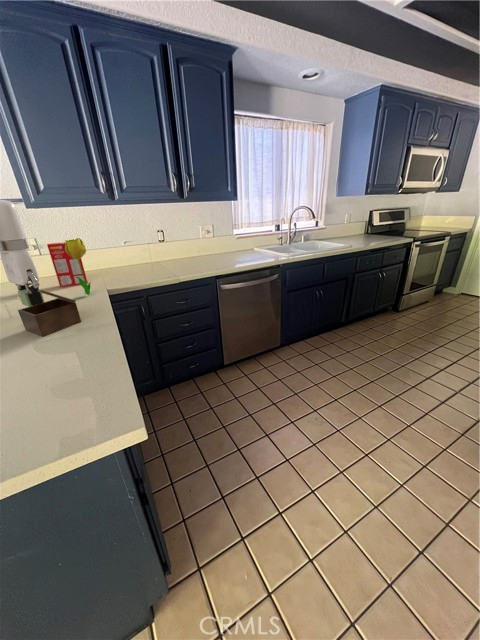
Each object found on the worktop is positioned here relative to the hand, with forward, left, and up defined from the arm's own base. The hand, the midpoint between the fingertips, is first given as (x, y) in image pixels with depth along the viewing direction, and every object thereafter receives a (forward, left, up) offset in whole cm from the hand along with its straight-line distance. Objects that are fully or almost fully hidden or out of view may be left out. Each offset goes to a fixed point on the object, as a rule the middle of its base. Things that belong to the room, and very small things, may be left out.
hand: (33, 302), depth 86 cm
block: (0, 0, 0) cm, 0 cm away
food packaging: (+1, +86, -17) cm, 88 cm away
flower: (+10, +58, -17) cm, 61 cm away
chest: (-1, +21, -17) cm, 27 cm away
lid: (-1, +21, -4) cm, 22 cm away
